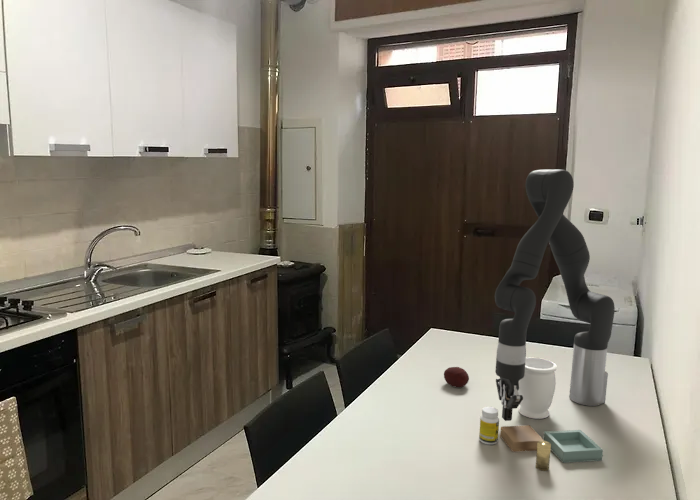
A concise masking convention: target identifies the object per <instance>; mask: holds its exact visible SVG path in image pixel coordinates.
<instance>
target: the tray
mask: <svg viewBox="0 0 700 500" xmlns="http://www.w3.org/2000/svg"><path fill="white" fill-rule="evenodd" d="M543 440H544V441H547V442H549V443H550V444H551V452H553V454H554V455H555V456H556V457H557V459H559V460H560V461H561V462H562V463H580V462H582V463H583V462H598V461H603V454H604V453H603V452H604V449H603V448H602V447H600V446H599V445H598V444H597V443H596V442H595V441H594V440H593V439H592V438H591V437H589V436H588V434H586V433H585V432H584V431H583V430H581V429H573V430H570V429H569V430H549V431H547V430H546V431H543Z"/></svg>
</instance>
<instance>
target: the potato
mask: <svg viewBox="0 0 700 500" xmlns="http://www.w3.org/2000/svg"><path fill="white" fill-rule="evenodd" d="M443 378H444V381H445V382H446V383H447V384H448V385H450V386H451V387H454V388H458V389H459V388H460V389H461V388H463V387H465V386H466V385H467V384H468V383H469V381H470V376H469V374H468V373H467V371H466V370H465V369H464V368H463V367H459V366H451V367H448V368H446V369H444V373H443Z"/></svg>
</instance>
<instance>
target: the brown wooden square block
mask: <svg viewBox="0 0 700 500" xmlns="http://www.w3.org/2000/svg"><path fill="white" fill-rule="evenodd" d="M499 431H500V434H499V437H500V438H501V439H502V441H504V443H505V444H506V445H507V447H509V450H511V452H513V453H516V452H517V453H518V452H520V453H521V452H537V442H538V441H544V438H543V437H541V436H540V434H539V433H537V431H536V430H535V429H534V428H533V427H532V426H531V425H511V426H510V425H509V426H508V425H507V426H506V425H505V426H500V430H499Z"/></svg>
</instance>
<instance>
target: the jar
mask: <svg viewBox="0 0 700 500" xmlns="http://www.w3.org/2000/svg"><path fill="white" fill-rule="evenodd" d="M557 368H558V366H557V364H556V363H555V362H553V361H552V360H550V359H546V358H541V357H535V356H534V357H532V356H531V357H529V356H526V362H525V375H524V377H523V378H522V379H520V380H519V390H518V393H519V395H522V396H523V400H522V401H521V403H520V404H519V406H518V408H517V409H518V413H520V415H522V416H523V417H527V418H530V419H533V420H534V419H536V420H541V419H545V418H548V417H549V416H550V411H549V409H550V407H551V406H552V403H553V398H554V396H555V390H556V384H557V382H556V373H555V372H556V371H557Z"/></svg>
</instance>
